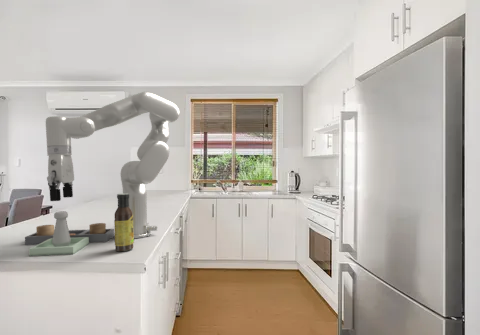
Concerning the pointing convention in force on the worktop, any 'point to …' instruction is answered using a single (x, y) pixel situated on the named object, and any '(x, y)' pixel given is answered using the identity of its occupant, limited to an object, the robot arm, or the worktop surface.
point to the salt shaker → (61, 230)
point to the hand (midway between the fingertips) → (62, 198)
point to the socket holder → (72, 236)
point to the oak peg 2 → (98, 228)
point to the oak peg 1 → (45, 230)
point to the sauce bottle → (123, 224)
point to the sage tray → (49, 248)
